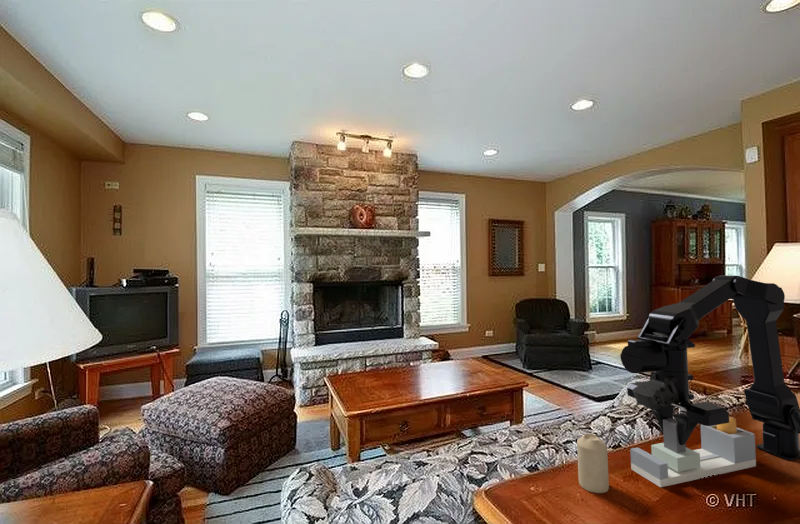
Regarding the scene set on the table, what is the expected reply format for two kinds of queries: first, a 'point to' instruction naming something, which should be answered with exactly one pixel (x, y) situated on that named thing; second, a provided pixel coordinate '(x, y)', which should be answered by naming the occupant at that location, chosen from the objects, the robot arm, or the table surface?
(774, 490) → the table surface
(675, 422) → the carriage
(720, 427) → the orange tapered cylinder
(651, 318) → the robot arm
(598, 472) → the candle
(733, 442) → the rail
